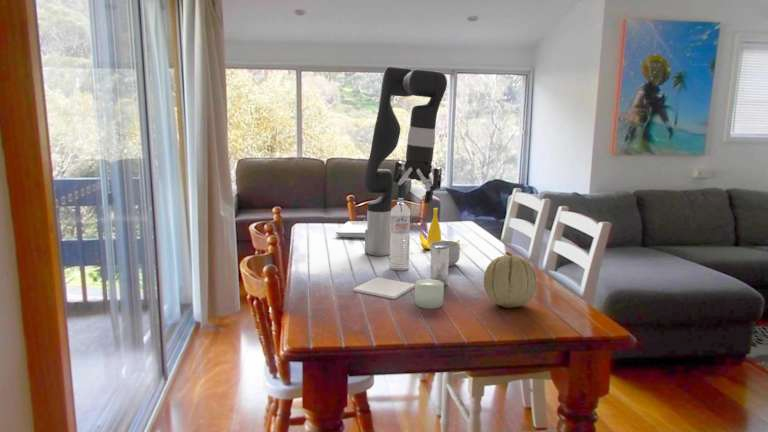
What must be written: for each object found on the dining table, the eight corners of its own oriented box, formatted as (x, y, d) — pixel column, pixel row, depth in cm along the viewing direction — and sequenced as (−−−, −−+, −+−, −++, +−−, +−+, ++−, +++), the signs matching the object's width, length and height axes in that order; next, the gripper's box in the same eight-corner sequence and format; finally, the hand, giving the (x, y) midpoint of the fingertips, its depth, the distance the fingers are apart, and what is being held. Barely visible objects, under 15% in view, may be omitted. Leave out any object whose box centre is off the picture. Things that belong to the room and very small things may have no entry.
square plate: (347, 227, 254) (347, 220, 253) (402, 230, 250) (402, 222, 250) (335, 239, 227) (335, 230, 227) (396, 242, 224) (396, 233, 223)
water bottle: (411, 267, 183) (413, 197, 178) (405, 272, 176) (407, 200, 172) (393, 265, 185) (394, 196, 181) (386, 269, 178) (388, 199, 174)
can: (427, 284, 163) (428, 247, 161) (434, 280, 167) (435, 243, 165) (443, 287, 160) (445, 249, 158) (450, 282, 165) (451, 245, 163)
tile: (353, 291, 155) (353, 288, 154) (376, 279, 167) (376, 277, 167) (394, 299, 148) (394, 296, 148) (415, 286, 160) (415, 284, 160)
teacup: (458, 269, 180) (459, 247, 179) (427, 267, 183) (428, 245, 181) (460, 260, 194) (461, 239, 193) (431, 258, 196) (432, 237, 195)
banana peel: (420, 252, 206) (422, 211, 203) (419, 241, 224) (420, 204, 221) (462, 253, 205) (464, 212, 202) (457, 242, 224) (458, 205, 221)
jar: (410, 305, 143) (410, 284, 142) (421, 297, 150) (422, 277, 149) (436, 310, 140) (437, 289, 139) (447, 301, 146) (448, 281, 145)
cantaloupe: (502, 318, 134) (505, 263, 132) (471, 301, 148) (474, 250, 145) (546, 311, 140) (551, 258, 138) (513, 295, 154) (516, 246, 151)
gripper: (392, 141, 144) (386, 197, 147) (436, 147, 136) (430, 207, 140) (405, 140, 150) (400, 195, 153) (449, 147, 142) (442, 203, 146)
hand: (414, 200), depth 146 cm, fingers open, 8 cm apart
